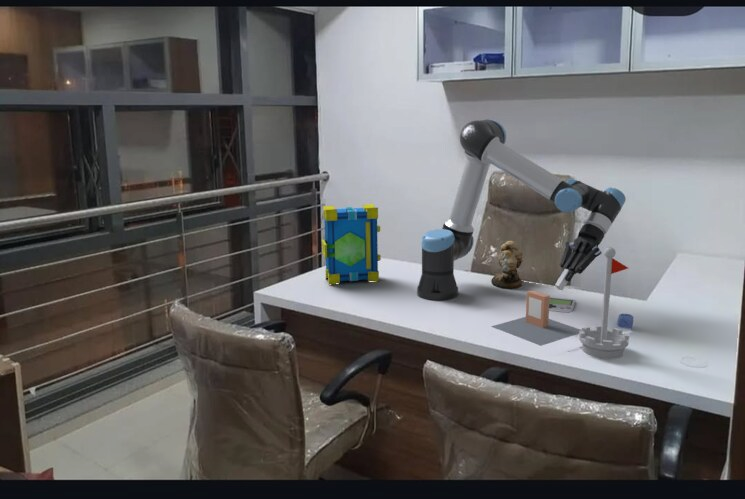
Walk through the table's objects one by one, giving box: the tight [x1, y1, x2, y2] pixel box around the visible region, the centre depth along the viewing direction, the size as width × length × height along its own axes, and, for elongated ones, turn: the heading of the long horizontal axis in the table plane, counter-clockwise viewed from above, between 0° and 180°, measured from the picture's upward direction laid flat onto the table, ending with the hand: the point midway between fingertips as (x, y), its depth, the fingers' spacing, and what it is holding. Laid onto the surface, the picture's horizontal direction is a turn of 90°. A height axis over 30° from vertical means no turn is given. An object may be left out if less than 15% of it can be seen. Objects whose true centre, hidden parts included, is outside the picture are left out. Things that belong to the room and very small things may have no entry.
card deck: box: [525, 290, 551, 328], centre depth 196 cm, size 7×2×10 cm, turn 34°
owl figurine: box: [490, 240, 523, 290], centre depth 244 cm, size 18×12×17 cm, turn 175°
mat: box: [491, 316, 582, 347], centre depth 193 cm, size 20×20×1 cm
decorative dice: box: [617, 313, 634, 330], centre depth 195 cm, size 4×4×4 cm
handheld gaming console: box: [549, 296, 576, 314], centre depth 216 cm, size 10×2×15 cm
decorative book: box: [321, 203, 382, 285], centre depth 249 cm, size 14×23×30 cm, turn 100°
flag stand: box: [578, 247, 630, 360], centre depth 173 cm, size 13×13×30 cm
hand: (558, 287), depth 199 cm, fingers closed
